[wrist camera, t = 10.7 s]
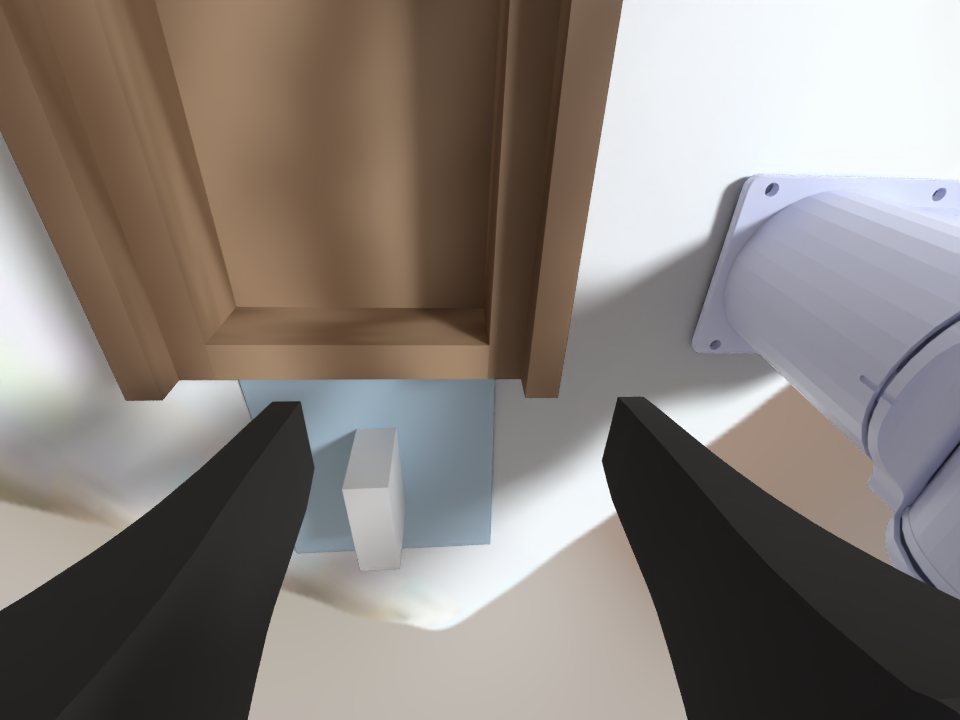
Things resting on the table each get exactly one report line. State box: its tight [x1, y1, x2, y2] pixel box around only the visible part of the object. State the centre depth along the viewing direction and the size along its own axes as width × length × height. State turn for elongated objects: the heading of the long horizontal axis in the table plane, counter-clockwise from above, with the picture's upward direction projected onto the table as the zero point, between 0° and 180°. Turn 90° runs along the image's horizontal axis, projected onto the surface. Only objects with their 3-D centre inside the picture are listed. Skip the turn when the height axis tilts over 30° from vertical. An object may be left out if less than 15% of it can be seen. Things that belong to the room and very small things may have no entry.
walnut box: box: [0, 0, 623, 401], centre depth 14 cm, size 15×16×5 cm
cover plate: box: [239, 379, 495, 571], centre depth 24 cm, size 12×14×5 cm
